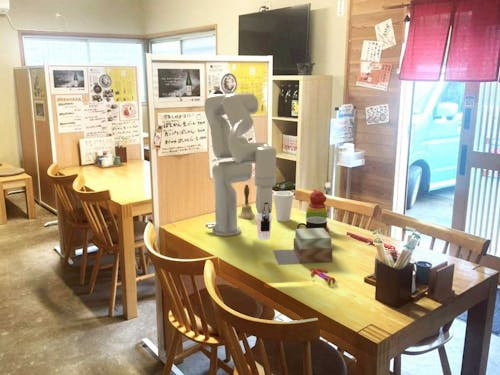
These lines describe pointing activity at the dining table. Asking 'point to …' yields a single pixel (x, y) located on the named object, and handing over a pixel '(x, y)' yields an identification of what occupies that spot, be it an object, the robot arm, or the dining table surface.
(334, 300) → the dining table surface
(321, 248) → the marbled stone cube
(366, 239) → the long red tool
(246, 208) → the hand bell
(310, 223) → the coffee mug
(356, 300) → the dining table surface
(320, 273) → the toy figure
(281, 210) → the foam cup
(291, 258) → the base board
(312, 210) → the stacking bear
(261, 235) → the beverage cup
